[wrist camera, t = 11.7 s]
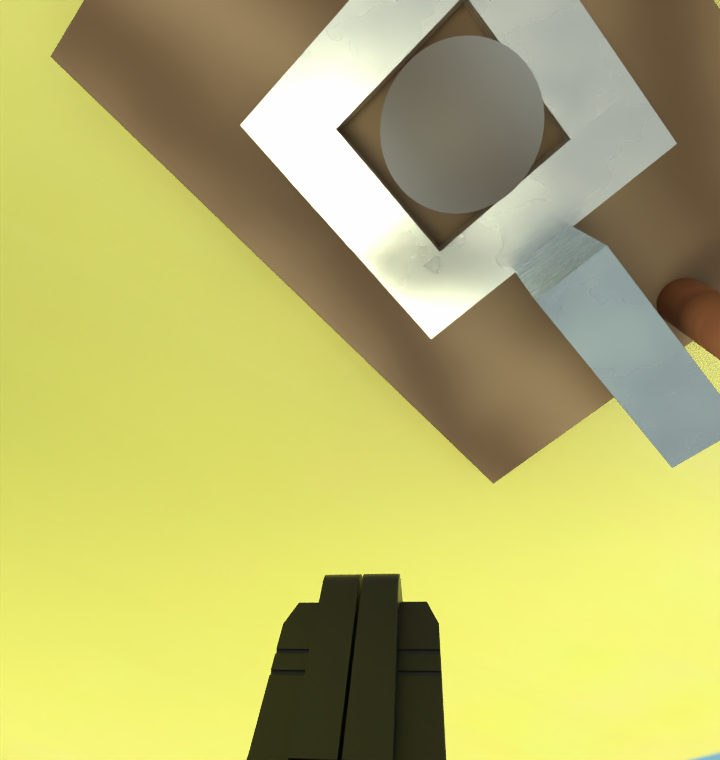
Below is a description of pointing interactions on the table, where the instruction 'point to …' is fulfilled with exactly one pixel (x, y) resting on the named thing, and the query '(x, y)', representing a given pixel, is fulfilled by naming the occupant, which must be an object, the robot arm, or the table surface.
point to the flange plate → (512, 213)
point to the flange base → (257, 202)
